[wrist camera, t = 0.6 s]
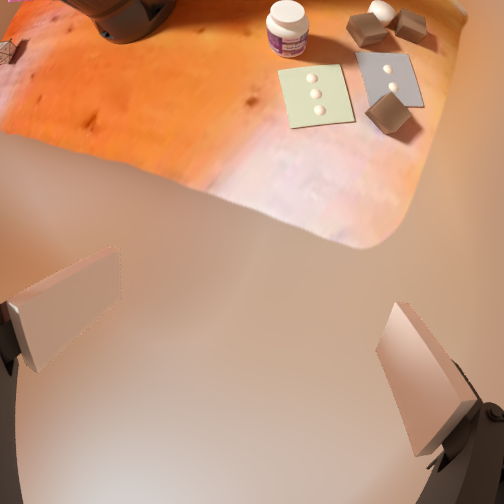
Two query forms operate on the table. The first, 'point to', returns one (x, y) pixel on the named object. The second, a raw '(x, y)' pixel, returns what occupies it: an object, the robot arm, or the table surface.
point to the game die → (6, 51)
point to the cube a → (366, 29)
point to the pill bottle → (287, 28)
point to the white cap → (382, 11)
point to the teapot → (17, 0)
